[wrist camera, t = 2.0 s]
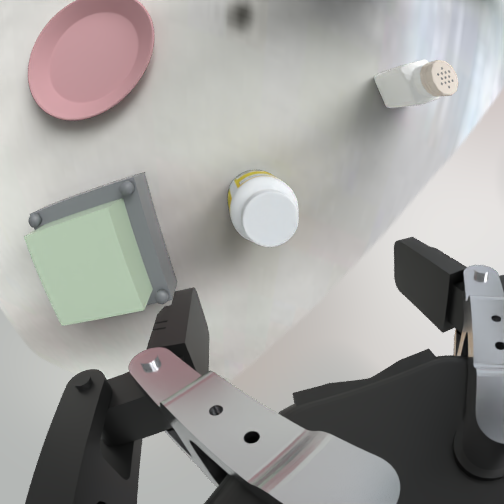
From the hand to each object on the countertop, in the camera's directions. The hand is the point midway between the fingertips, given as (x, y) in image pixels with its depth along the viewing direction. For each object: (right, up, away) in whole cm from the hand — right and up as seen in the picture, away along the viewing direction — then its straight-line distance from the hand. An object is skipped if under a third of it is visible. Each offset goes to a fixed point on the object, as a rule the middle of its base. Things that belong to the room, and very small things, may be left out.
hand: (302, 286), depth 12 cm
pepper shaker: (+13, +19, +16) cm, 28 cm away
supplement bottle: (-2, +7, +19) cm, 20 cm away
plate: (-18, +21, +13) cm, 31 cm away
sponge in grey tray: (-17, +2, +19) cm, 26 cm away
